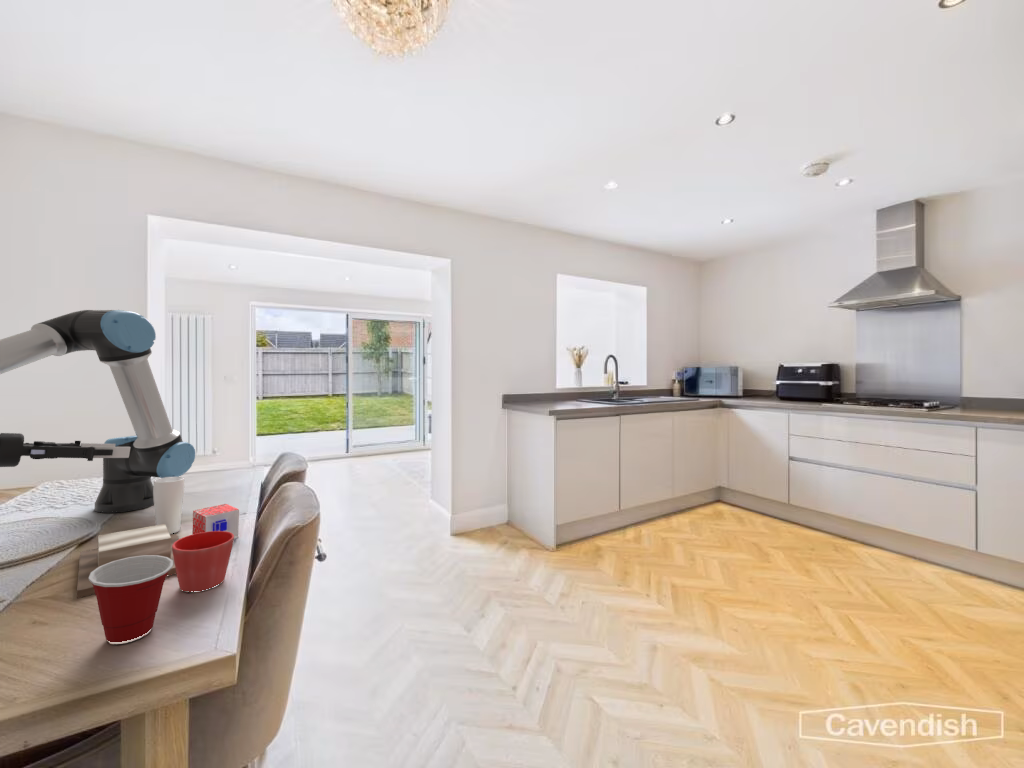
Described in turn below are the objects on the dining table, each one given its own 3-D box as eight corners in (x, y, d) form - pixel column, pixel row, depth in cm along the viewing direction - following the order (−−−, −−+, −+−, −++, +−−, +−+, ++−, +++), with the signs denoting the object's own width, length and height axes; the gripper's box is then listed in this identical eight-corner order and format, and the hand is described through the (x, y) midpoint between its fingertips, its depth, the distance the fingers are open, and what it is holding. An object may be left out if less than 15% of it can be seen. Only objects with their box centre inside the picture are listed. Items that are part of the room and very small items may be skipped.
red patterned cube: (225, 531, 119) (225, 503, 119) (238, 537, 115) (239, 509, 114) (192, 539, 112) (192, 510, 112) (204, 547, 108) (205, 516, 108)
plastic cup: (139, 655, 67) (140, 581, 66) (66, 656, 66) (68, 582, 66) (186, 616, 77) (188, 553, 77) (125, 617, 77) (126, 552, 76)
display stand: (79, 557, 99) (80, 531, 99) (176, 539, 112) (176, 515, 112) (76, 598, 82) (77, 565, 82) (190, 570, 95) (191, 542, 95)
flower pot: (244, 577, 93) (246, 534, 93) (193, 602, 82) (194, 553, 82) (211, 568, 96) (212, 527, 96) (158, 591, 86) (159, 544, 86)
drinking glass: (189, 529, 119) (191, 477, 119) (167, 538, 112) (169, 483, 112) (168, 527, 120) (169, 475, 119) (145, 536, 113) (146, 481, 113)
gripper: (-16, 462, 98) (106, 461, 115) (-4, 472, 84) (133, 469, 101) (-9, 430, 99) (111, 434, 116) (4, 435, 85) (138, 438, 102)
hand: (121, 450), depth 109 cm, fingers open, 13 cm apart
